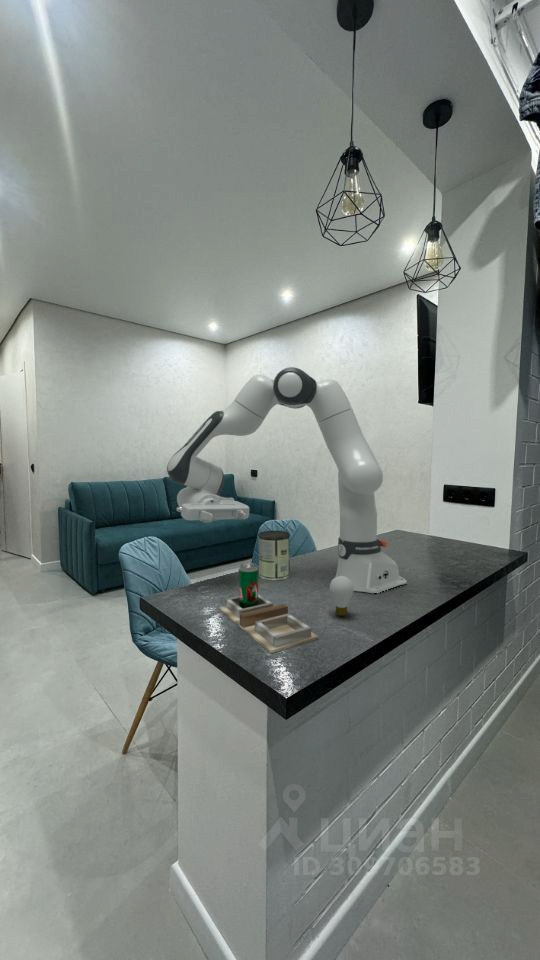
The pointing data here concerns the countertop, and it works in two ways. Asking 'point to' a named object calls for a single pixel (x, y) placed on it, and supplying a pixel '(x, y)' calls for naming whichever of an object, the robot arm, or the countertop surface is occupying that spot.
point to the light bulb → (341, 593)
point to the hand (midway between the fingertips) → (228, 517)
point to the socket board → (269, 624)
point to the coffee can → (274, 555)
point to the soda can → (248, 585)
